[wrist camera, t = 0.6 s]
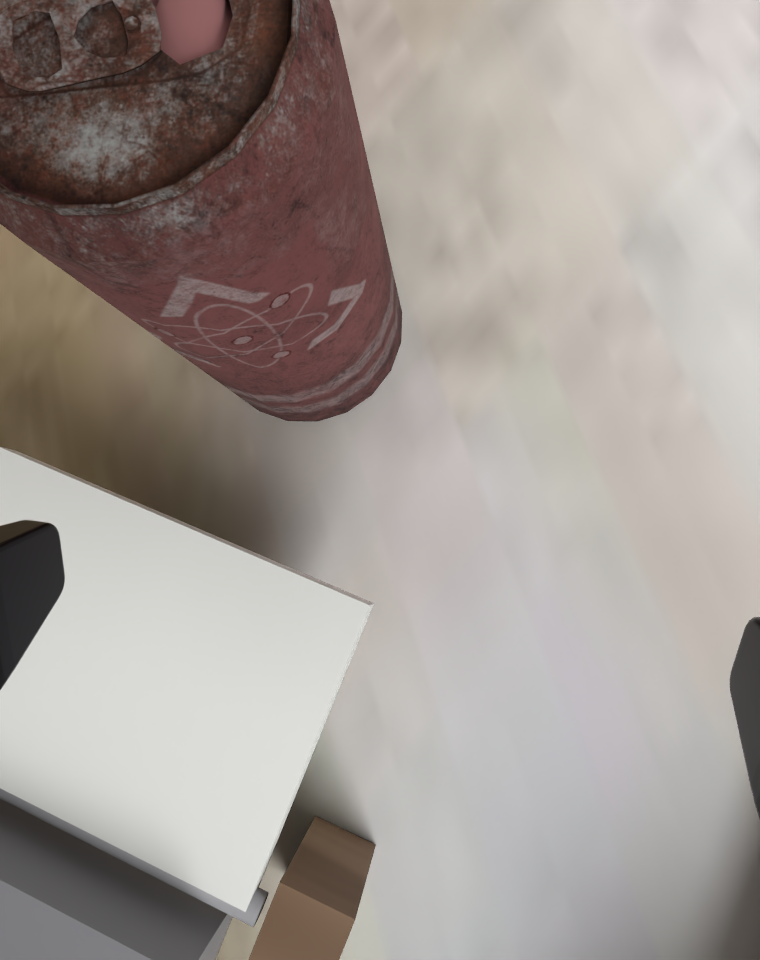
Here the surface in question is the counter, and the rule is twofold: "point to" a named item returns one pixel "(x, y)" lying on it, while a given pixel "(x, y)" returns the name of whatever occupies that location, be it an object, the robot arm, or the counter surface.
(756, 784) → the robot arm
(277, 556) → the counter surface
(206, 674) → the trapdoor
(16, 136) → the can
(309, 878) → the frame
